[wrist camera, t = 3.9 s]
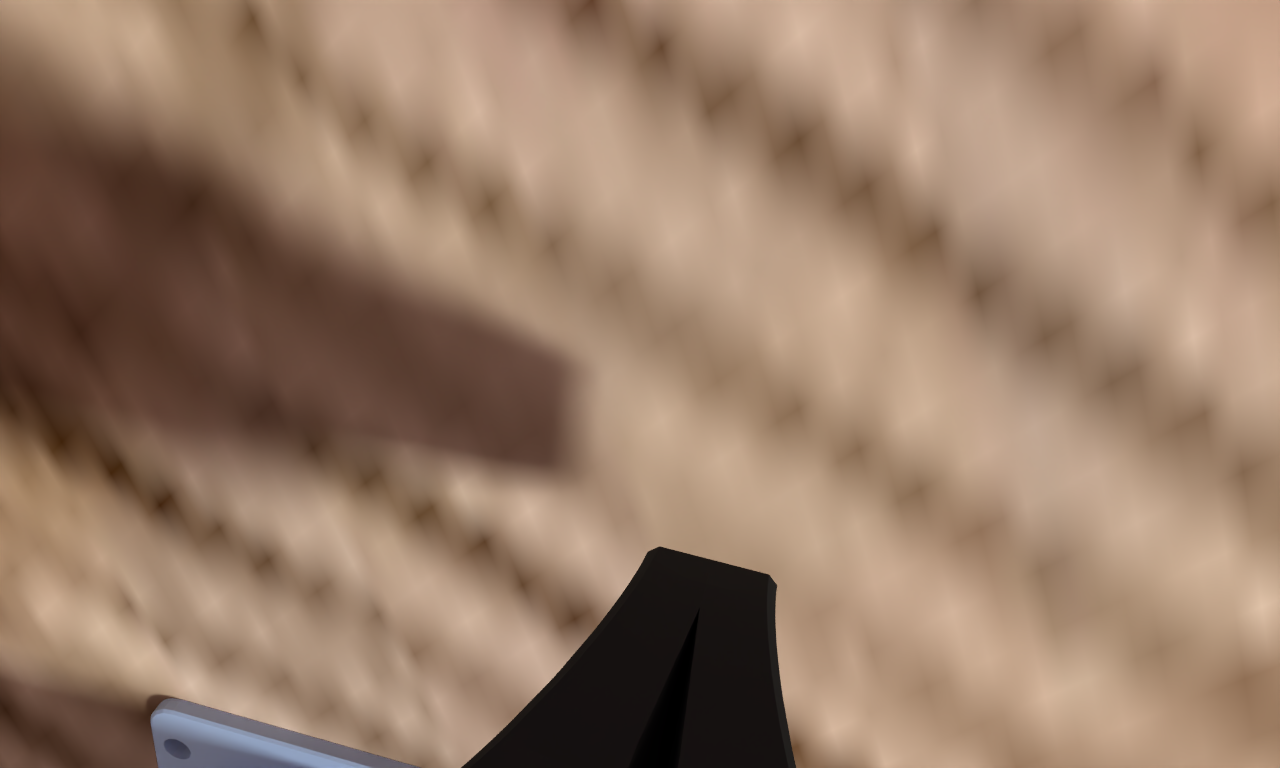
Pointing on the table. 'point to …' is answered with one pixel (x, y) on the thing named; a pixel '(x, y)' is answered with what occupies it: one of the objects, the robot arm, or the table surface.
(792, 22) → the table surface
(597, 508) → the table surface
